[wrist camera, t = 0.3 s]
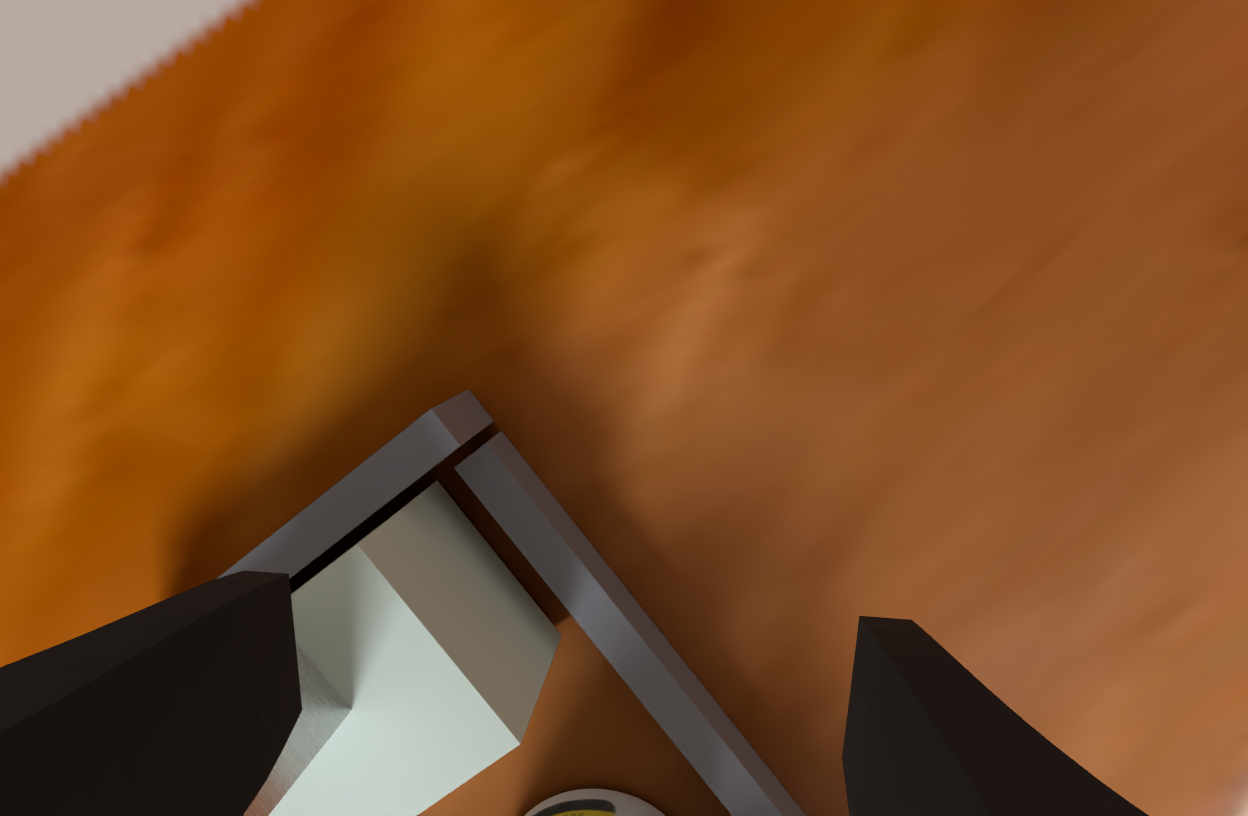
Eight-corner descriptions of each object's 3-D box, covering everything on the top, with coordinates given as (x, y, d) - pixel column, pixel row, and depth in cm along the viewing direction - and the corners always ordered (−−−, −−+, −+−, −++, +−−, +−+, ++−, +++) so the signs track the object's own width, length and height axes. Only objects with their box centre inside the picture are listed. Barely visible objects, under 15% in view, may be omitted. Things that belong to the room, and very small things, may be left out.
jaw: (357, 779, 23) (118, 1138, 13) (236, 635, 22) (-98, 900, 13) (561, 635, 21) (455, 916, 12) (437, 480, 21) (229, 648, 12)
